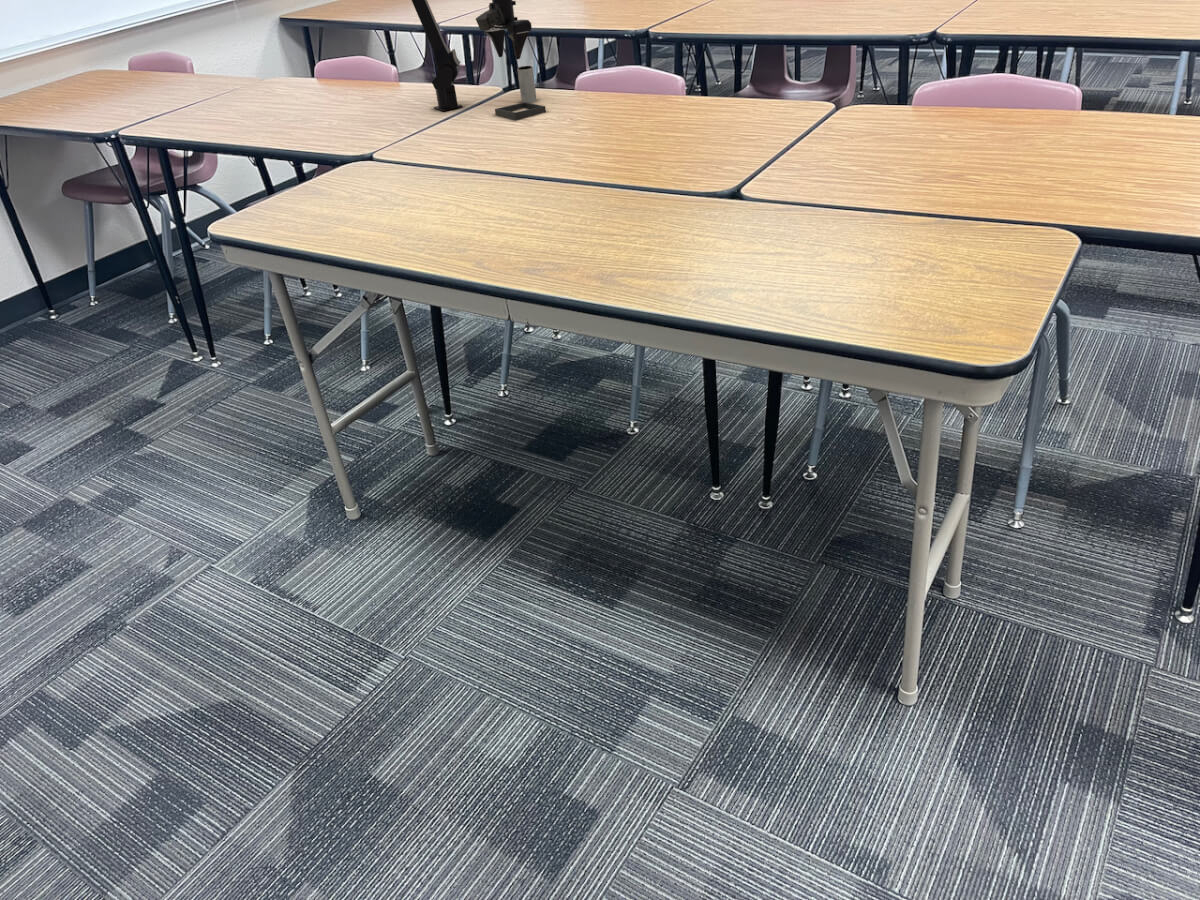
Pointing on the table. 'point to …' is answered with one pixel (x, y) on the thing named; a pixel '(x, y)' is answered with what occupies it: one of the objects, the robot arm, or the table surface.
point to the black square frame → (508, 113)
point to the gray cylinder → (527, 84)
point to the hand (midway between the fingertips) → (509, 58)
